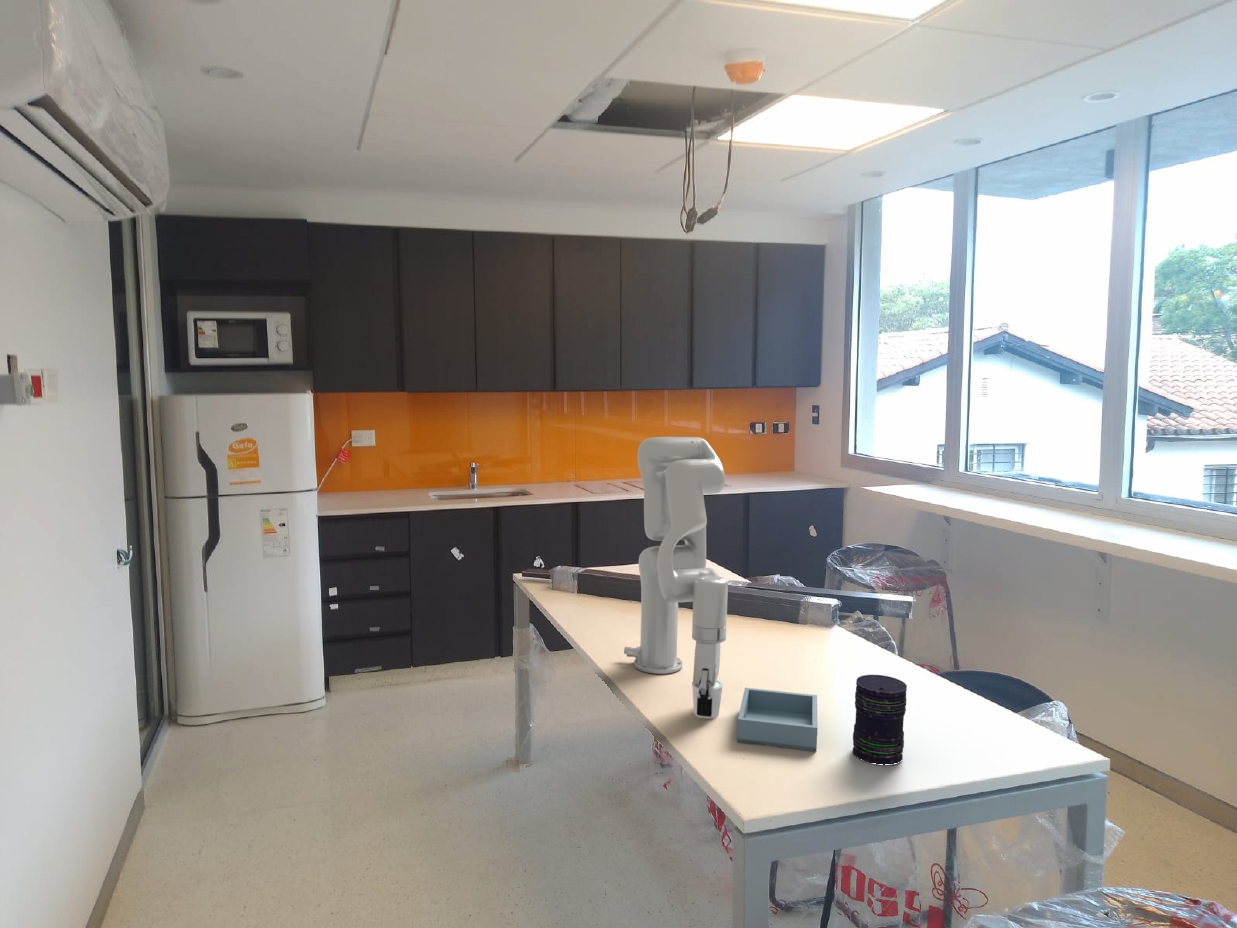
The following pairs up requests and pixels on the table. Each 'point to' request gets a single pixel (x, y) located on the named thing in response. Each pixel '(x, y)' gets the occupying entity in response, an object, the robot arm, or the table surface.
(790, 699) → the open box
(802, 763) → the table surface
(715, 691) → the white cup
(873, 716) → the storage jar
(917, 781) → the table surface
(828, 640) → the table surface
